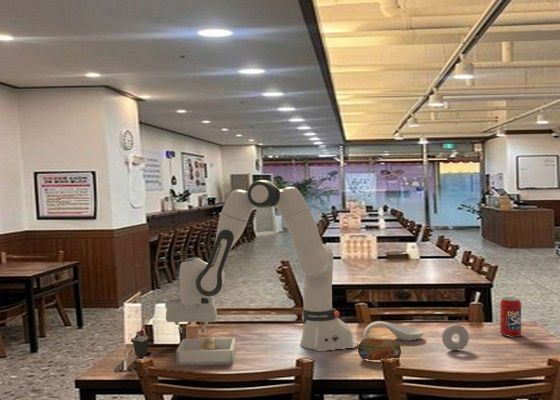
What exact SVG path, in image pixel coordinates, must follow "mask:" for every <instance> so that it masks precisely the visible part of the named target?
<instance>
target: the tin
mask: <svg viewBox="0 0 560 400" xmlns="http://www.w3.org/2000/svg"><path fill="white" fill-rule="evenodd" d="M357 352H358V355H359V357H360V358H361V359H362V360H363V361H364V359H368V360H381V359H388V358H389V359H391V358H398V360H400V357H401V355H402V348H401V346H400V344H399V342H398V341H396V340H394V339H392V338H382V337H381V338H379V337H367V338H366V339H364V338H363V339H362V340H361V341H360V342H359V343H358V347H357Z"/></svg>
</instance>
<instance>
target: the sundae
mask: <svg viewBox="0 0 560 400" xmlns="http://www.w3.org/2000/svg"><path fill="white" fill-rule="evenodd" d="M144 328H145V326H142V327H141V329H140V331H136V335H135V336H134V337H133V338H131V339H130V343H132V344H133V349H134V354H135V356H136V357H137V358H138V359H139V360H140V359H143V360H144V358H145V357H146V355H147V354H148V347H149V341H151V338H150V337H148V335H147V334H146V332H145V330H144Z"/></svg>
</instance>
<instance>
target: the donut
mask: <svg viewBox="0 0 560 400" xmlns="http://www.w3.org/2000/svg"><path fill="white" fill-rule="evenodd" d="M454 334H457V335H459V337H458V340H456V341H453V340H452V336H453V335H454ZM441 335H442V336H441V340H442V344H443V345H444V347H446V348H447V349H448V350H450V349H451V350H450V351H452V350H458V349H462V350H463V349H464V348H465V347H466V346H467V345H468V343H469V340H470V336H469V335H470V334H469V332H468V331H467V329H466V328H465V326H464V325H461V324H457V323H453V324H450V325H448V326H446V328H444V330H443V332H442V334H441Z"/></svg>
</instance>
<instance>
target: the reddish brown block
mask: <svg viewBox="0 0 560 400" xmlns="http://www.w3.org/2000/svg"><path fill="white" fill-rule="evenodd" d="M199 327H200V326H199V324H196V323H195V324H194V323H193V324H192V323H191V324H187V325H186V326H185V333H186V337H185V339H195V338H200V333H199V332H200V329H199Z"/></svg>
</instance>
